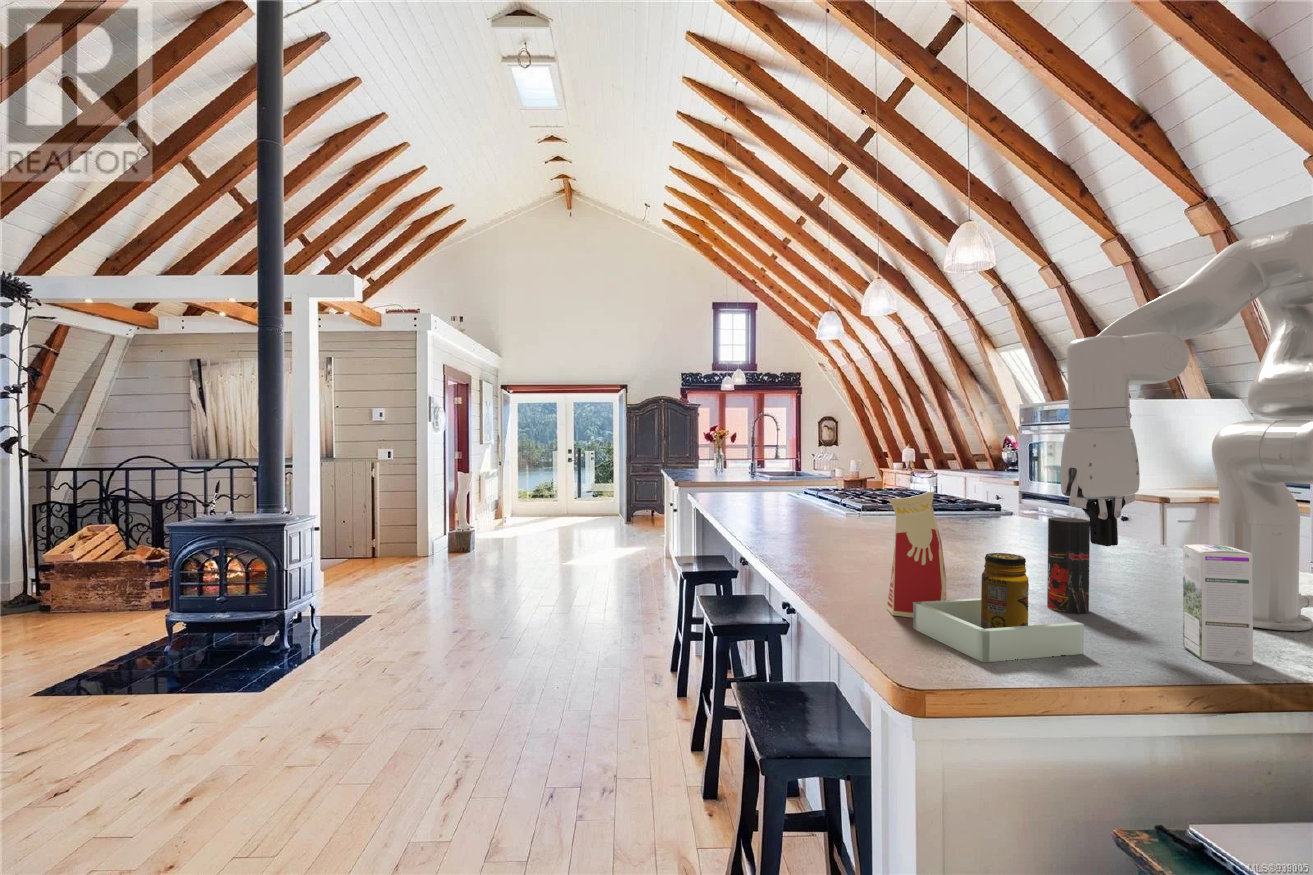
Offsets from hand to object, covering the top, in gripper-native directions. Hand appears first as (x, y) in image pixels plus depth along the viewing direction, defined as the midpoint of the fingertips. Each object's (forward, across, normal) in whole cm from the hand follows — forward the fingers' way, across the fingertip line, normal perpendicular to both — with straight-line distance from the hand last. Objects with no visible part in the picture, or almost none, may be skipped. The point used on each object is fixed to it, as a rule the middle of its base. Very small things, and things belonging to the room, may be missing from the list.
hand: (1104, 544), depth 99 cm
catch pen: (+12, +20, 0) cm, 23 cm away
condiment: (+12, +18, -1) cm, 22 cm away
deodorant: (+14, -5, -12) cm, 19 cm away
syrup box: (+14, -5, +12) cm, 19 cm away
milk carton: (+12, +21, -16) cm, 29 cm away
